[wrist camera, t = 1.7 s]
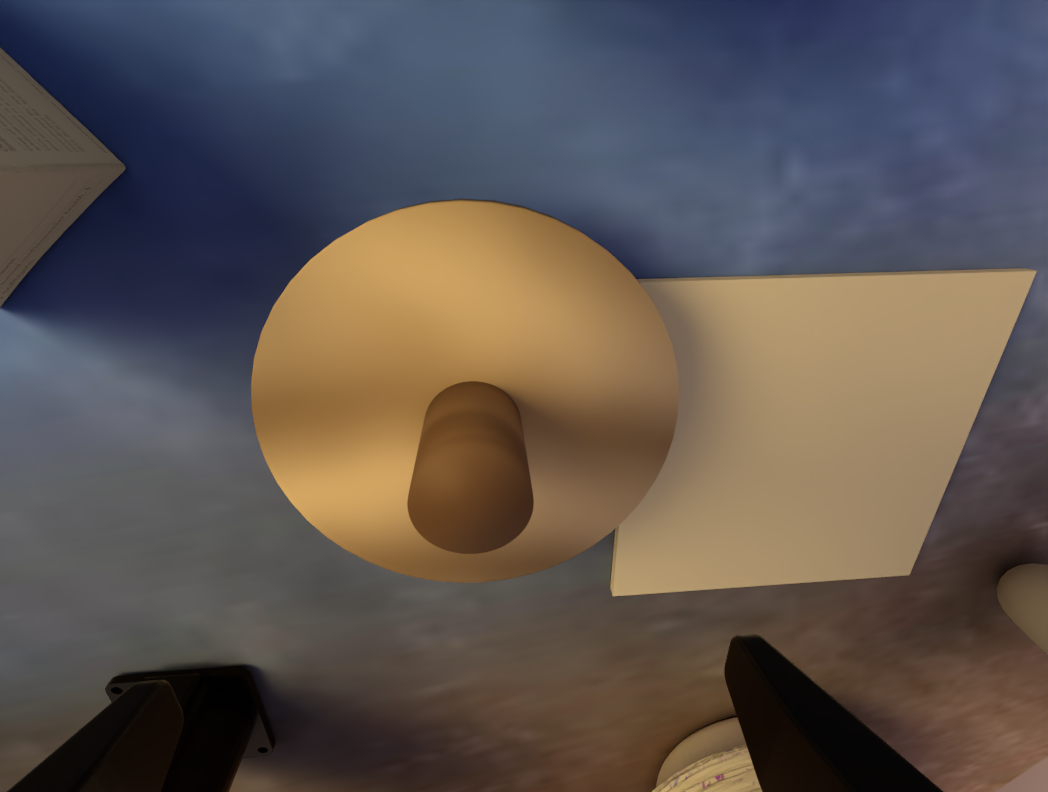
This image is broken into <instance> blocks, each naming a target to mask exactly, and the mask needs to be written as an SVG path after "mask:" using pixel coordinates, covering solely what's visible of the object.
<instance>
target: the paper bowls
mask: <svg viewBox="0 0 1048 792" xmlns="http://www.w3.org/2000/svg"><path fill="white" fill-rule="evenodd" d="M652 792H762V789H761V787H760V784H759V781H758V779H757V776H756V773H755V770H754V767H753V764H752V761H751V758H750V755H749V752H748V748H747V745H746V742H745V739H744V736H743V733H742V730H741V727H740V724H739V721H738V718H737V717H735V718H731V719H727V720H723V721H720V722H717V723H714V724H712V725H709V726H707V727H705V728H703V729H701V730H699V731H697V732H695V733H693V734H691V735H690V736H689V737H687V738H686V739H684V740H683V741H682V742H680V743H679V744H678V745H677V746H676V747H675V748H674V749H673V751H672V752H671V753H670V754H669V755H668V757H667V758H666V760H665V761H664V763H663V765H662V767H661V769H660V772H659V775H658V779H657V784H656V788H655V789H654V790H653V791H652Z"/></svg>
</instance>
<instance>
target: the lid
mask: <svg viewBox="0 0 1048 792" xmlns="http://www.w3.org/2000/svg"><path fill="white" fill-rule="evenodd" d="M251 398H252V413H253V418H254V424H255V429H256V434H257V438H258V441H259V443H260V446H261V449H262V452H263V455H264V458H265V460H266V462H267V464H268V466H269V468H270V470H271V472H272V474H273V476H274V478H275V480H276V482H277V483H278V484H279V486H280V487H281V489H282V490H283V492H284V493H285V494H286V496H287V497H288V499H289V500H290V502H291V503H292V504H293V505H294V506H295V507H296V508H297V509H298V511H299V512H300V513H301V514H302V515H303V516H304V517H305V518H306V519H307V520H308V521H309V522H310V523H311V524H312V525H313V526H315V527H316V528H317V529H318V530H319V531H320V532H322V533H323V534H324V535H325V536H326V537H328V538H329V539H331V540H332V541H334V542H335V543H337V544H338V545H340V546H341V547H342V548H344V549H345V550H347V551H349V552H351V553H353V554H355V555H357V556H359V557H360V558H362V559H364V560H366V561H368V562H371V563H373V564H376V565H378V566H381V567H383V568H386V569H388V570H391V571H395V572H398V573H402V574H405V575H409V576H412V577H418V578H423V579H429V580H435V581H446V582H459V583H462V582H488V581H496V580H505V579H510V578H514V577H519V576H524V575H528V574H531V573H534V572H538V571H541V570H544V569H547V568H550V567H552V566H555V565H557V564H559V563H561V562H564V561H566V560H568V559H570V558H572V557H574V556H576V555H578V554H579V553H581V552H583V551H585V550H586V549H588V548H590V547H592V546H593V545H594V544H596V543H597V542H599V541H600V540H601V539H603V538H604V537H605V536H607V535H608V534H610V533H611V532H612V531H613V530H614V529H615V528H616V527H617V526H618V525H620V524H621V523H622V522H623V521H624V520H625V519H626V518H627V517H628V516H629V515H630V514H631V513H632V511H633V510H634V509H635V508H636V507H637V506H638V504H639V503H640V502H641V501H642V500H643V498H644V497H645V495H646V494H647V492H648V491H649V489H650V488H651V486H652V485H653V483H654V482H655V480H656V478H657V476H658V474H659V472H660V470H661V468H662V466H663V464H664V462H665V460H666V457H667V455H668V452H669V449H670V446H671V443H672V440H673V436H674V432H675V427H676V422H677V417H678V403H679V383H678V371H677V364H676V360H675V356H674V351H673V347H672V343H671V340H670V338H669V335H668V332H667V330H666V327H665V325H664V322H663V320H662V317H661V316H660V314H659V312H658V311H657V309H656V307H655V305H654V304H653V302H652V300H651V298H650V297H649V295H648V294H647V292H646V291H645V290H644V289H643V287H642V286H641V285H640V283H639V282H638V281H637V280H636V278H635V277H634V276H633V275H632V273H631V272H630V271H629V270H628V269H627V268H626V267H624V266H623V265H622V264H621V263H620V262H619V261H618V260H617V259H616V258H615V257H614V256H613V255H612V254H611V253H610V252H608V251H607V250H606V249H604V248H603V247H601V246H600V245H599V244H597V243H596V242H594V241H593V240H592V239H590V238H589V237H587V236H586V235H584V234H583V233H582V232H580V231H579V230H577V229H575V228H573V227H571V226H569V225H567V224H565V223H563V222H561V221H559V220H557V219H555V218H554V217H552V216H549V215H546V214H543V213H540V212H537V211H534V210H531V209H528V208H526V207H523V206H518V205H512V204H507V203H502V202H497V201H491V200H472V199H454V200H442V201H431V202H426V203H422V204H417V205H413V206H409V207H404V208H400V209H397V210H395V211H392V212H389V213H387V214H384V215H382V216H379V217H377V218H374V219H371V220H369V221H368V222H366V223H364V224H362V225H361V226H359V227H357V228H355V229H354V230H352V231H350V232H348V233H347V234H345V235H343V236H341V237H340V238H338V239H336V240H335V241H333V242H332V243H331V244H329V245H328V246H327V247H326V248H324V249H323V250H322V251H321V252H319V253H318V254H317V255H316V256H314V257H313V258H312V259H310V261H309V262H308V263H307V264H306V265H305V266H304V267H303V268H302V269H301V270H300V271H299V272H298V273H297V274H296V276H295V277H294V278H293V279H292V280H291V281H290V282H289V284H288V285H287V287H286V288H285V290H284V291H283V293H282V294H281V296H280V297H279V298H278V300H277V301H276V303H275V304H274V306H273V308H272V310H271V312H270V315H269V317H268V319H267V321H266V323H265V325H264V327H263V330H262V332H261V335H260V339H259V342H258V346H257V349H256V353H255V357H254V363H253V372H252V380H251Z"/></svg>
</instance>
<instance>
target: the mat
mask: <svg viewBox="0 0 1048 792" xmlns="http://www.w3.org/2000/svg"><path fill="white" fill-rule="evenodd" d="M1036 272H1037V271H1035V270H1030V269H1025V268H1015V269H980V270H945V271H909V272H874V273H838V274H803V275H767V276H732V277H697V278H661V279H636V280H637V281H638V282H639V283H640V285H641V286H642V287H643V289H644V290H645V291H646V292H647V294H648V295H649V297H650V298H651V300H652V302H653V304H654V305H655V307H656V309H657V311H658V312H659V314H660V316H661V317H662V320H663V322H664V325H665V327H666V330H667V332H668V335H669V338H670V340H671V343H672V347H673V351H674V356H675V360H676V364H677V371H678V383H679V403H678V417H677V422H676V427H675V432H674V436H673V440H672V443H671V446H670V449H669V452H668V455H667V457H666V460H665V462H664V464H663V466H662V468H661V470H660V472H659V474H658V476H657V478H656V480H655V482H654V483H653V485H652V486H651V488H650V489H649V491H648V492H647V494H646V495H645V497H644V498H643V500H642V501H641V502H640V503H639V504H638V506H637V507H636V508H635V509H634V510H633V511H632V513H631V514H630V515H629V516H628V517H627V518H626V519H625V520H624V521H623V522H622V523H621V524H620V525H618V526H617V527H616V528H615V539H614V551H613V563H612V575H611V587H610V589H611V592H612V595H613V596H624V595H638V594H652V593H666V592H680V591H694V590H708V589H722V588H736V587H750V586H764V585H778V584H792V583H806V582H820V581H834V580H849V579H863V578H877V577H891V576H905V575H910V573H911V570H912V568H913V566H914V563H915V561H916V559H917V556H918V554H919V551H920V549H921V547H922V544H923V542H924V539H925V537H926V535H927V532H928V530H929V528H930V525H931V523H932V520H933V518H934V516H935V513H936V511H937V508H938V506H939V504H940V501H941V499H942V496H943V494H944V492H945V489H946V487H947V485H948V482H949V480H950V477H951V475H952V473H953V470H954V468H955V465H956V463H957V461H958V458H959V456H960V454H961V451H962V449H963V446H964V444H965V442H966V439H967V437H968V434H969V432H970V430H971V427H972V425H973V422H974V420H975V418H976V415H977V413H978V411H979V408H980V406H981V403H982V401H983V399H984V396H985V394H986V391H987V389H988V387H989V384H990V382H991V379H992V377H993V375H994V372H995V370H996V368H997V365H998V363H999V360H1000V358H1001V356H1002V353H1003V351H1004V348H1005V346H1006V344H1007V341H1008V339H1009V337H1010V334H1011V332H1012V329H1013V327H1014V325H1015V322H1016V320H1017V317H1018V315H1019V313H1020V310H1021V308H1022V305H1023V303H1024V301H1025V298H1026V296H1027V294H1028V291H1029V289H1030V286H1031V284H1032V282H1033V279H1034V277H1035V274H1036Z"/></svg>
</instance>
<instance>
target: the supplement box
mask: <svg viewBox="0 0 1048 792" xmlns="http://www.w3.org/2000/svg"><path fill="white" fill-rule="evenodd" d="M125 169H126V167H125V165H124V164H123V163H122V162H121V161H120V160H118V159H117V158H116V156H115V155H114V154H113V153H112V152H110V151H109V150H108V149H107V148H106V147H105V146H104V145H103V144H102V143H101V142H100V141H99V140H98V139H97V138H96V137H95V136H94V135H93V134H92V133H91V132H90V131H89V130H88V129H87V128H86V127H84V126H83V125H82V124H81V123H80V122H79V121H78V120H77V119H76V118H75V117H73V116H72V115H71V114H70V113H69V112H68V111H67V110H66V109H65V108H64V107H63V106H62V105H61V104H60V103H59V102H58V101H57V100H56V99H55V98H53V97H52V96H51V95H50V94H49V93H48V92H47V91H46V90H45V89H44V88H43V87H42V86H41V85H40V84H39V83H37V82H36V81H35V80H34V79H33V78H32V77H31V76H30V75H29V74H28V73H27V72H26V71H25V70H24V69H23V68H22V67H21V66H20V65H19V64H17V63H16V62H15V61H14V60H13V59H12V58H11V57H10V56H9V55H8V54H7V53H6V52H5V51H4V50H3V49H2V48H0V307H1V306H2V304H3V303H4V302H5V300H6V299H7V298H8V297H9V295H10V294H11V293H12V291H13V290H14V289H15V288H16V286H17V285H18V284H19V283H20V281H21V280H22V279H23V278H24V276H25V275H26V274H27V273H28V272H29V271H30V270H31V268H32V267H33V266H34V265H35V264H36V262H37V261H38V260H39V259H40V258H41V257H42V256H43V254H44V253H45V252H46V251H47V250H48V249H49V248H50V247H51V246H52V245H53V243H54V242H55V241H56V240H57V239H58V238H59V237H60V236H61V235H62V234H63V233H64V231H65V230H66V229H67V228H68V227H69V226H70V225H71V224H72V223H73V222H74V221H75V220H76V219H77V218H78V217H79V216H80V215H81V214H82V213H83V212H84V211H85V209H86V208H87V207H88V206H89V205H90V204H91V203H92V202H93V201H94V200H95V199H96V198H97V197H98V196H99V195H100V194H101V193H102V192H103V191H104V190H105V189H106V188H107V187H108V186H109V185H110V184H111V183H112V182H113V181H114V180H115V179H116V178H117V177H118V176H120V175H121V174H122V173H123V172H124V170H125Z"/></svg>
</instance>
